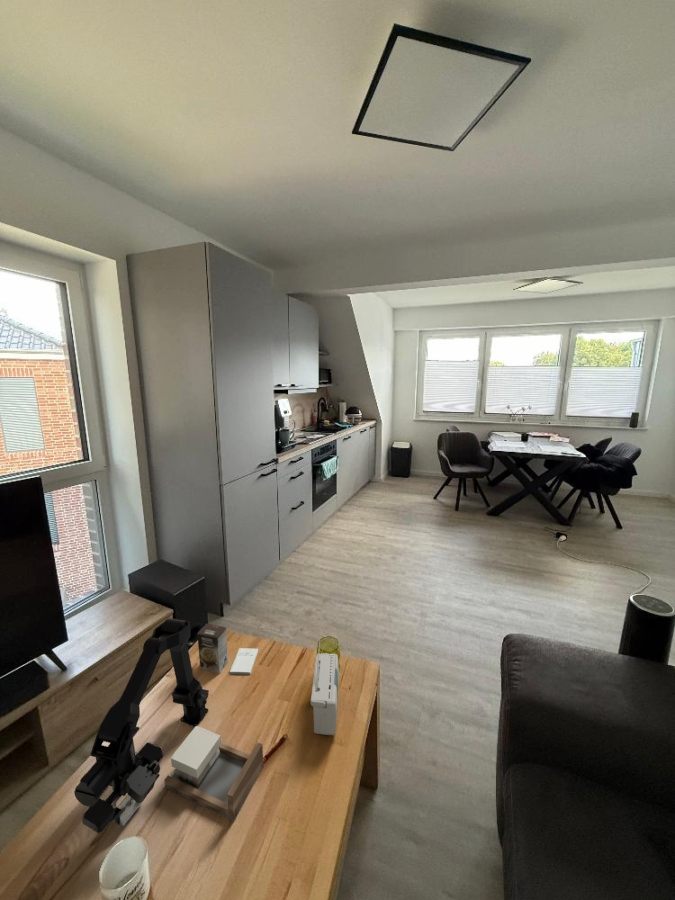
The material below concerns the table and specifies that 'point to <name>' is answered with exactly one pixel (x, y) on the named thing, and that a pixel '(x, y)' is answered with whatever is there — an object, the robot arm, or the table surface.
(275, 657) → the table surface
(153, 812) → the table surface
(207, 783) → the track
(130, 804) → the loose roller
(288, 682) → the table surface
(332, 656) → the stereo radio cassette player
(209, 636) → the coffee box
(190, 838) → the table surface
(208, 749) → the slab
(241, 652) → the external hard drive
